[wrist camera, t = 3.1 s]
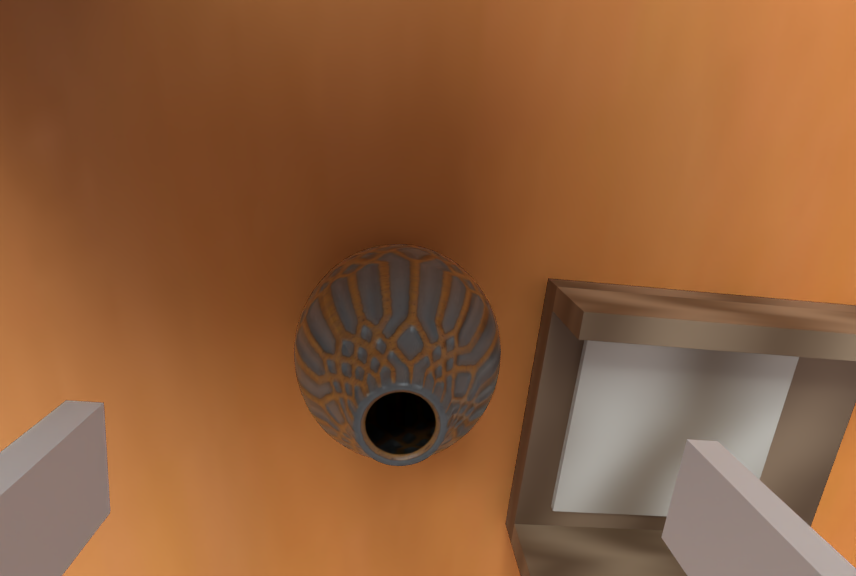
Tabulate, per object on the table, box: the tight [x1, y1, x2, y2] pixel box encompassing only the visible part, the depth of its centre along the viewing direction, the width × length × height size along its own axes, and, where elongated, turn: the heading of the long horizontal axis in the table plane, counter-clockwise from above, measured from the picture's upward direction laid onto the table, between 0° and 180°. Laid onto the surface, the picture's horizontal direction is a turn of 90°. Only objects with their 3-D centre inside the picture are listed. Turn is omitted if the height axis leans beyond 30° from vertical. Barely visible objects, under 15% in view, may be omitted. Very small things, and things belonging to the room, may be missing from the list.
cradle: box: [506, 279, 856, 576], centre depth 22 cm, size 14×12×4 cm
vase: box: [294, 244, 501, 466], centre depth 17 cm, size 7×7×9 cm
